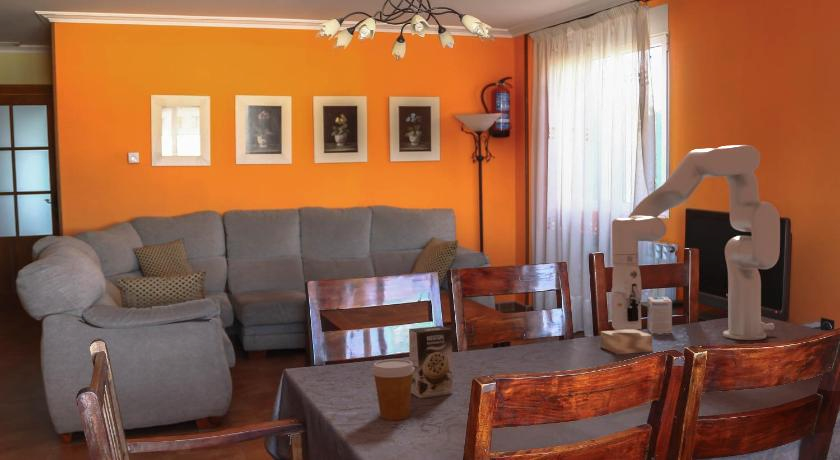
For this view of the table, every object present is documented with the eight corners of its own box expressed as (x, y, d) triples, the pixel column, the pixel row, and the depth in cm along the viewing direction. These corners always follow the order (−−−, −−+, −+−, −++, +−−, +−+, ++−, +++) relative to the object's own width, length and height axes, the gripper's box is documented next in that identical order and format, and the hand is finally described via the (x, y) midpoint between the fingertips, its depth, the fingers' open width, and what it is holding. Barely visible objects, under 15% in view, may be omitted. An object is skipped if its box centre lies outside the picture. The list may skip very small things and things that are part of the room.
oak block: (633, 344, 258) (633, 328, 258) (652, 352, 248) (652, 335, 247) (600, 347, 256) (600, 331, 255) (618, 355, 245) (618, 338, 245)
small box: (638, 325, 254) (638, 291, 253) (641, 329, 248) (641, 294, 247) (611, 326, 254) (610, 291, 254) (614, 329, 249) (613, 294, 248)
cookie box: (419, 398, 203) (417, 332, 202) (409, 392, 209) (407, 328, 207) (454, 393, 206) (452, 328, 205) (442, 388, 212) (441, 324, 211)
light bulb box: (647, 328, 282) (646, 296, 282) (667, 328, 281) (667, 296, 281) (651, 334, 272) (651, 301, 271) (673, 334, 271) (672, 301, 270)
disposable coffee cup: (376, 410, 194) (375, 358, 193) (417, 410, 193) (416, 358, 192) (370, 422, 184) (368, 368, 184) (413, 422, 184) (412, 368, 183)
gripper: (652, 261, 242) (652, 323, 244) (622, 256, 259) (623, 313, 260) (628, 263, 240) (629, 325, 242) (600, 257, 257) (601, 315, 258)
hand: (626, 318), depth 251 cm, fingers closed on small box, 7 cm apart
